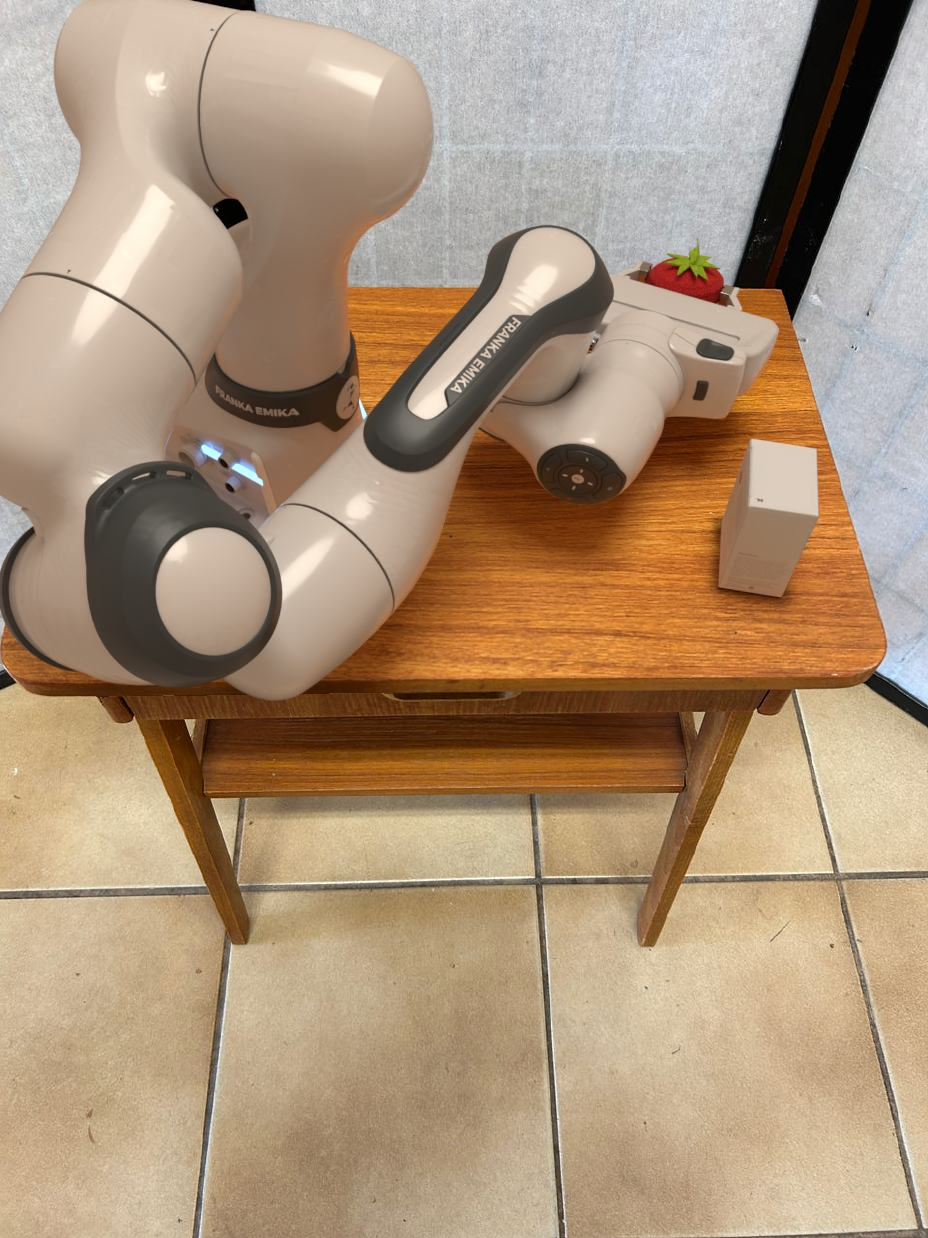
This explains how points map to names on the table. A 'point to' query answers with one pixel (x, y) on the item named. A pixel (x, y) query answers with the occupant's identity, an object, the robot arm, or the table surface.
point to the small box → (768, 517)
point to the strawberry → (688, 276)
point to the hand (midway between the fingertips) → (688, 279)
